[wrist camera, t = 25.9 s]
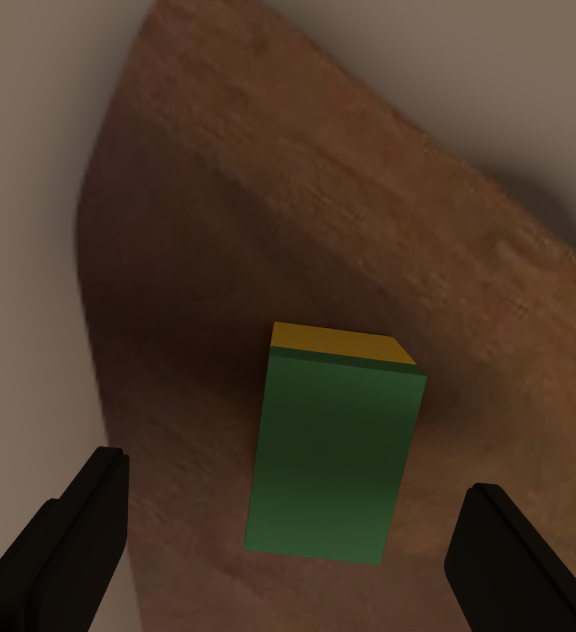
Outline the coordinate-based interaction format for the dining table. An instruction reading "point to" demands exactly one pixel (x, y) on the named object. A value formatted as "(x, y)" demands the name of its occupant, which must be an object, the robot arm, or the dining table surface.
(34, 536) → the robot arm
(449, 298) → the dining table surface
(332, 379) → the sponge
